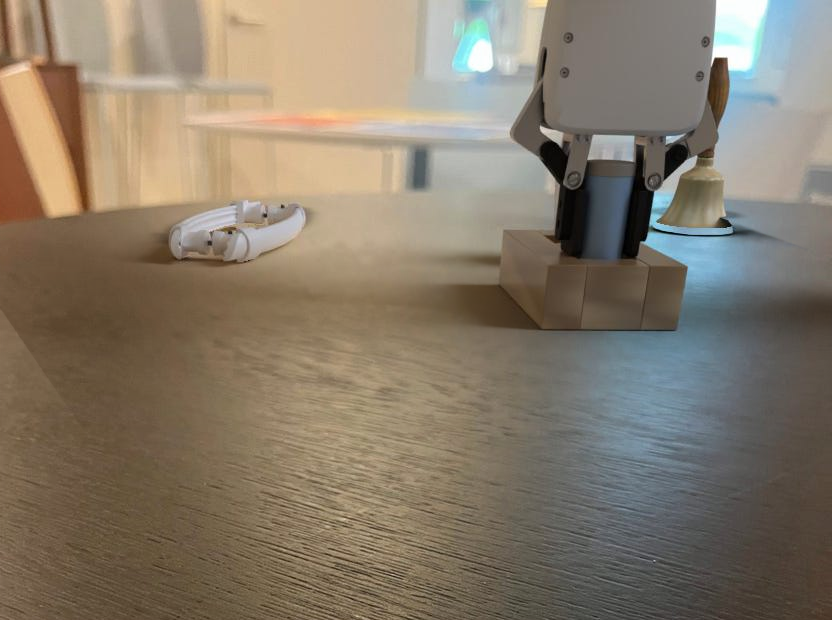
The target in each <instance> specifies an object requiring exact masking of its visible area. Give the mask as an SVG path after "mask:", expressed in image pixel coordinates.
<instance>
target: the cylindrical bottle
mask: <svg viewBox="0 0 832 620" xmlns="http://www.w3.org/2000/svg"><path fill="white" fill-rule="evenodd" d="M636 166H637V163H636V162H633V160H632V161H631V160H621V159H604V158H603V159H602V158H601V159H600V158H597V159H596V158H595V159H593V158H592V159H588V160H587V164H586V168H585V173H584V179H585V186H584V189H585V190H587V191H588V192H589V201H588V209H587V216H586V224H585V232H584V240H583V248H582V253H581V254H579V255H578V256H574V257H576V258H577V259H622V256H623V249H624V242H625V235H626V228H627V222H628V215H629V208H630V201H631V194H632V188H633V181H634V176H635V173H636Z"/></svg>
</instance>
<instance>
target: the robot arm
mask: <svg viewBox="0 0 832 620" xmlns="http://www.w3.org/2000/svg"><path fill="white" fill-rule="evenodd" d="M716 15H717V0H547V2H546V7H545V11H544V17H543V22H542V29H541V34H540V39H539V47H538V54H537V58H536V66H535V72H534V80H533V89H532V92H531V94H530V95H529V97H528V98H527V100H526V101H525V103H524V105H523V107H522V108H521V111H520V112H519V114H518V116H517V117H516V119H515V121H514V122H513V124H512V126H511V128H510V129H509V137H510V139H511V140H512V141H513V142H515V144H516V143H517V145H519V146H521V147H522V148H524V149H525V150H527V151H528V152H529V153H531V154H532V155H534V156H536V157H537V158H538V159H539V160H540V162H541V163H542V164H543V165H544V167H545V168H546V169H547V170H548V172H549V173H550V174H551V175H552V177H553V178H554V181H555V180H556V182H557V183H558V184H559V185H560V189H559V198H558V207H557V215H556V224H555V239H556V240H561V245H560V247H561V250H562V251H564V252H565V253H567V254H568V255H570V256H578V255H579V254H581V253H582V248H583V240H584V232H585V224H586V216H587V209H588V201H589V192H588V191H587V190H585V189H584V186H585V179H584V173H585V168H586V164H587V160H589V159H588V158H589V155H590V150H591V146H592V141H593V137H594V136H626V137H628V136H629V137H633V155H632V156H633V159H632V162H636V163H637V166H636V173H635V176H634V181H633V188H632V194H631V201H630V208H629V215H628V222H627V228H626V235H625V242H624V249H623V254H625V255H626V256H628V257H637V256H638V252H639V246H640V242H641V243H644V242H646V241H647V240H648V235H649V229H650V223H651V216H652V210H653V203H654V198H655V192H656V191H658V190H660V189H661V188H662V186H663V184H664V182H665V181H666V180H667V179H668V178H669V177H670V176H671V175H672V174H673V173H674V172H675V171H677V170H678V169H679V168H680V167H681V166H682V165H683V164H684V163H685V162H686V161H687V160H689V159H691V158H694V157H697V155H698V154H700V153H701V152H703V151H705V150H707V149H709V148H711V147H713V146H714V145H715V146H716V144H717V143H718V142H719V139H720V135H719V130H717V127H716V124H715V121H714V117H713V114H712V111H711V107H710V104H709V101H708V97H707V92H708V86H709V79H710V71H711V66H712V63H713V52H714V44H715V43H714V41H715V31H716ZM541 127H542V128H544V129H547V130H551V131H557V132H560V133H562V139H561V142H560V145H559V143H557V142H556V141H554V140H553V139H551V138H550V137H548V136H547V135H546V134H544V133H543V132H542V130H541ZM681 135H682V136H681ZM678 136H681V137H679V138H678V139H676V140H674V141H673V142H669V143H667V137H678Z"/></svg>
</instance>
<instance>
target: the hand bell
mask: <svg viewBox="0 0 832 620" xmlns="http://www.w3.org/2000/svg"><path fill="white" fill-rule="evenodd" d="M730 80H731V79H730V71H729V58H728V57H726V56H725V57H724V56H723V57H721V56H720V57H714V58H713V60H712V63H711V71H710V79H709V86H708V92H707V97H708V101H709V104H710V107H711V111H712V114H713V117H714V121H715V124H716V127H717V131H719V126H720V125H721V124H720V123H721V122H722V119H723V116H724V114H725V111H726V109H727V104H728V101H729V96H730V89H731V81H730ZM715 149H716V144H715V145H714V146H713V147H711V148H709V149H707V150H705V151H703V152H701V153H700V154H698V155H696V157H697V158H696V162H695V164H694V166H693V167H691V168H690V169H688V170H687V171H685V172H683V173H682V174H680V176H679V178H678V182H677V186H676V189H675V192H674V194H673V197H672V199H671V202H670V204H669V206H668V207H667V209H666V210H665V211H664V213H663V214H662V215H661V216H660V217H659V218H658V219H656V220H655V222H657V223H660V224H664V225H669V226H676V227H687V228H727V227H731V226H733V224H732V223H731V222H730V220H729V219H726V218H724V217H726V216H727V214H726V213H727V212H726V209H725V203H724V202H725V201H724V189H725V188H724V186H725V177H724V175H723V174H721V173H720V172H718V171H717V170H716V169H715V168H714V161H715V159H714V157H715V154H716V153H715Z"/></svg>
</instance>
